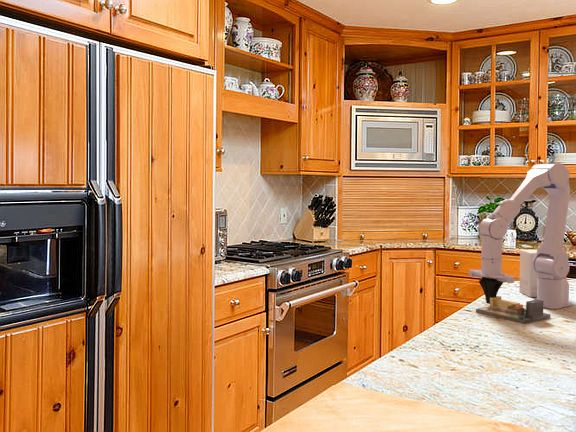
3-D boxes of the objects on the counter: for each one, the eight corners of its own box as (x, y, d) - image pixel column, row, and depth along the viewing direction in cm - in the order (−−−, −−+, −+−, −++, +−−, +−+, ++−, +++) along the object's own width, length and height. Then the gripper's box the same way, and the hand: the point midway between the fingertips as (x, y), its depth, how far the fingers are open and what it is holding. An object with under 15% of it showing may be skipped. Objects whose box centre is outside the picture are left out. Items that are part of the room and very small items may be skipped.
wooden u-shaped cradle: (498, 305, 166) (498, 295, 166) (522, 310, 159) (522, 300, 159) (486, 307, 163) (486, 297, 163) (509, 313, 156) (510, 303, 156)
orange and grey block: (520, 314, 154) (520, 304, 154) (524, 315, 153) (524, 304, 153) (515, 315, 153) (515, 305, 153) (519, 316, 152) (519, 305, 152)
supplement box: (556, 297, 183) (557, 252, 182) (529, 297, 183) (530, 252, 182) (544, 291, 192) (545, 249, 191) (518, 291, 192) (519, 249, 191)
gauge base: (501, 307, 170) (502, 289, 169) (550, 318, 156) (550, 299, 156) (476, 312, 163) (476, 294, 163) (524, 324, 150) (525, 304, 149)
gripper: (462, 256, 169) (462, 300, 170) (504, 262, 157) (503, 309, 158) (478, 254, 173) (477, 297, 174) (519, 260, 161) (518, 306, 161)
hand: (490, 303), depth 166 cm, fingers closed
